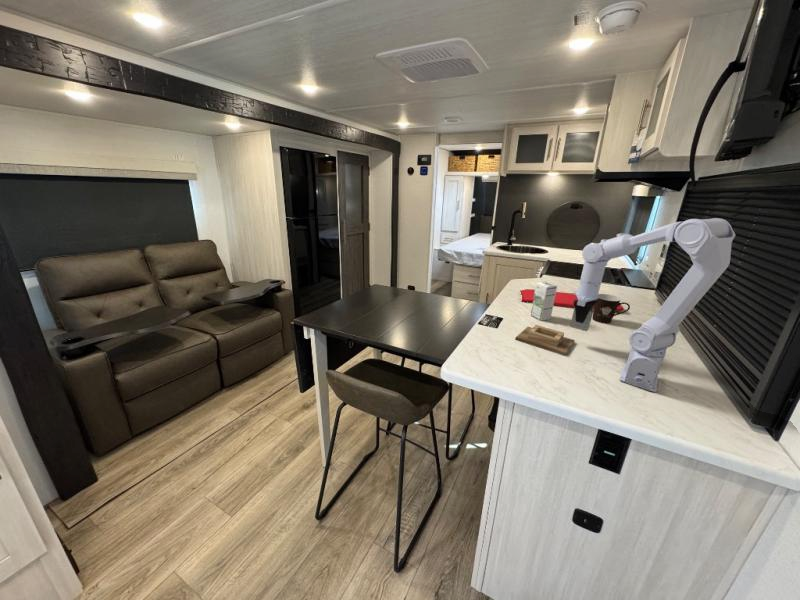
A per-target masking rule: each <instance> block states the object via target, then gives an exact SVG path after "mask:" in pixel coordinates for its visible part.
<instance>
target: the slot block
mask: <svg viewBox="0 0 800 600" xmlns="http://www.w3.org/2000/svg"><path fill="white" fill-rule="evenodd" d="M564 335H565V332H562V331H560V330H555V329H552V328H548V327H545V326H541V325H539V324H538V325H537V324H535V325H534V326H533V327H530V326H527V327H526V328H524V329H523V330H522V331H521V332H520V333H519V334H518V335H517V336H515V341H517V342H521V343H524V344H527V345H530V346H533V347H536V348H539V349H543V350H546V351H549V352H552V353H555V354H558V355H561V356H564V357H565V356H566V355H567V353H569V350H571V348H572V346H574V344H573V343H575V341H576V340H575V339H572V338H570V337H565V336H564Z"/></svg>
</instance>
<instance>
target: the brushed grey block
mask: <svg viewBox="0 0 800 600" xmlns="http://www.w3.org/2000/svg"><path fill="white" fill-rule="evenodd" d="M593 311H594V309H590V311H589V312H588V314H587V316H586V319H585V321H584V322H583V323H579V322H576V311H575V308H573V313H572V317H571V321H570V326H569V327H570V328H573V329H577V330H580V331H584V332H588V330H589V329H590V326H591V322H592V318H593Z"/></svg>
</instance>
